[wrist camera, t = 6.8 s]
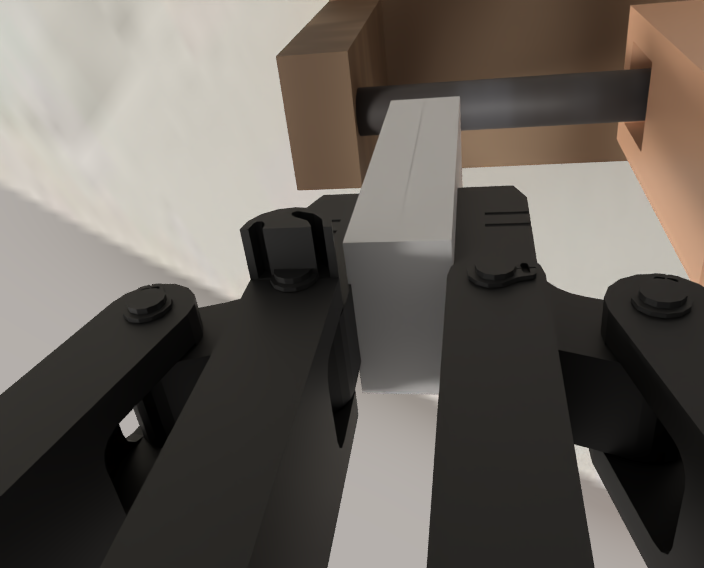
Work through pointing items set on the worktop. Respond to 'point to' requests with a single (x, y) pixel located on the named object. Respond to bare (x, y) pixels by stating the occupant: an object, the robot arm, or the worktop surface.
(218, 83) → the worktop surface
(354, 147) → the brown rod stand
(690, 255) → the tan wooden l-shaped block
